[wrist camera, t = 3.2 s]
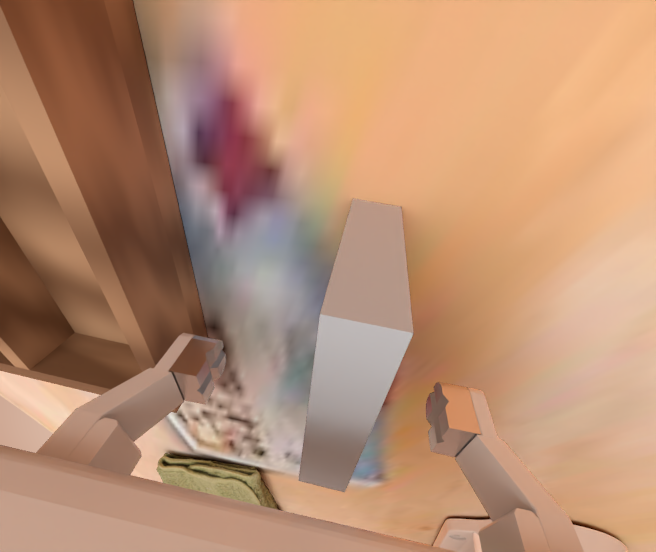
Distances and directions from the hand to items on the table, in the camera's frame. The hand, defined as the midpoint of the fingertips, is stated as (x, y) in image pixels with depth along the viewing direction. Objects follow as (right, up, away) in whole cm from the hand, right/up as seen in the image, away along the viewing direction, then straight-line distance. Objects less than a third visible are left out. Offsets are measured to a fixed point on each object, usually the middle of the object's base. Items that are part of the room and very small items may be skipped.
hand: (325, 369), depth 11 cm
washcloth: (-13, -24, +27) cm, 38 cm away
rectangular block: (+2, +3, +4) cm, 5 cm away
